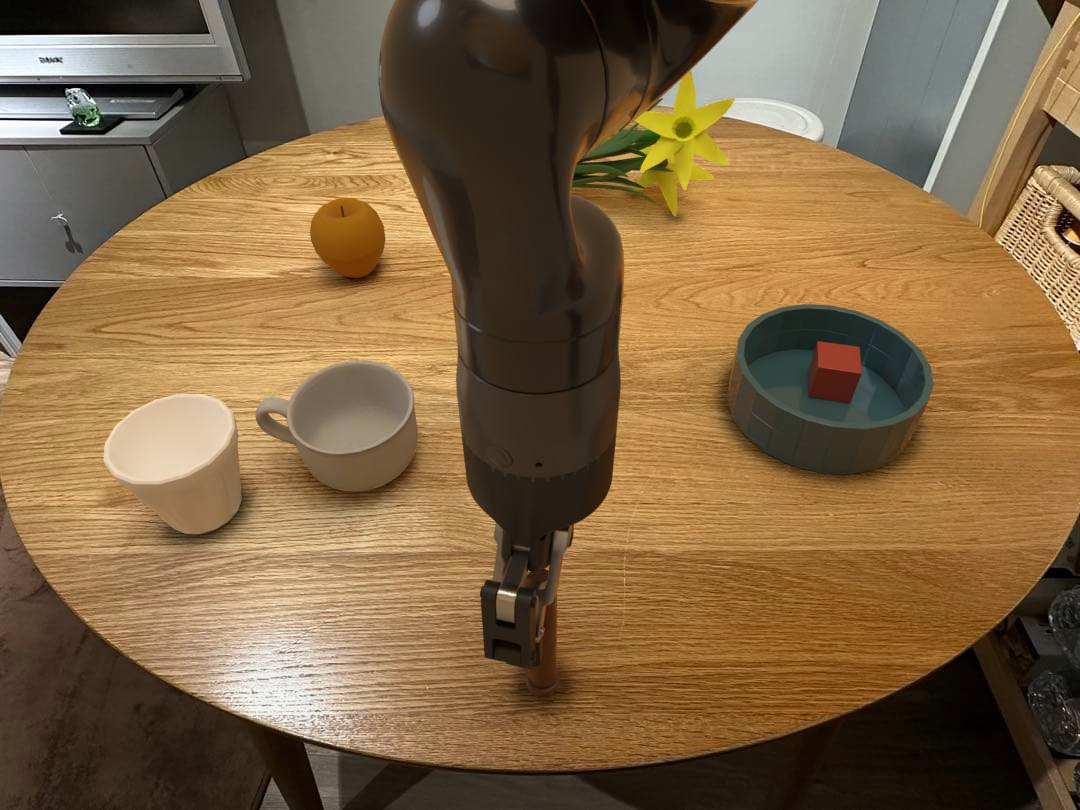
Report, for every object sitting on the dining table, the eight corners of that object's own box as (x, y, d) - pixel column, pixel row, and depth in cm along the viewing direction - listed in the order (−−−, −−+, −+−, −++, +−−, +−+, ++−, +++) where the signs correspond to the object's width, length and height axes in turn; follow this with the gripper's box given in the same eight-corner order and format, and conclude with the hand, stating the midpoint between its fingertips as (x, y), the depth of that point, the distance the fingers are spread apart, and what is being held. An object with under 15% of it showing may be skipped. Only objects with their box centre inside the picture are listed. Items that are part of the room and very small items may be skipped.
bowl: (902, 362, 80) (922, 316, 76) (920, 490, 68) (944, 444, 64) (732, 339, 83) (742, 293, 79) (720, 457, 71) (731, 410, 67)
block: (848, 377, 78) (859, 346, 75) (850, 403, 75) (862, 373, 72) (807, 371, 78) (817, 340, 76) (808, 397, 76) (817, 366, 73)
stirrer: (562, 670, 56) (564, 569, 47) (555, 701, 55) (555, 603, 46) (530, 663, 57) (526, 561, 48) (522, 694, 55) (516, 594, 46)
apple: (316, 257, 95) (299, 192, 89) (384, 245, 97) (372, 180, 91) (324, 296, 90) (307, 229, 83) (396, 282, 91) (385, 216, 85)
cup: (216, 449, 72) (183, 376, 66) (288, 496, 68) (261, 423, 62) (121, 519, 67) (75, 446, 60) (194, 575, 62) (153, 504, 56)
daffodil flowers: (512, 159, 115) (753, 123, 102) (502, 248, 112) (751, 223, 98) (460, 88, 100) (734, 34, 87) (446, 188, 97) (730, 149, 83)
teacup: (440, 432, 74) (431, 369, 68) (398, 521, 66) (383, 458, 61) (307, 408, 76) (288, 346, 71) (252, 491, 69) (225, 428, 63)
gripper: (586, 550, 31) (575, 720, 42) (639, 332, 41) (619, 518, 52) (411, 515, 32) (446, 689, 44) (503, 311, 42) (512, 497, 54)
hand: (540, 596), depth 48 cm, fingers open, 8 cm apart
